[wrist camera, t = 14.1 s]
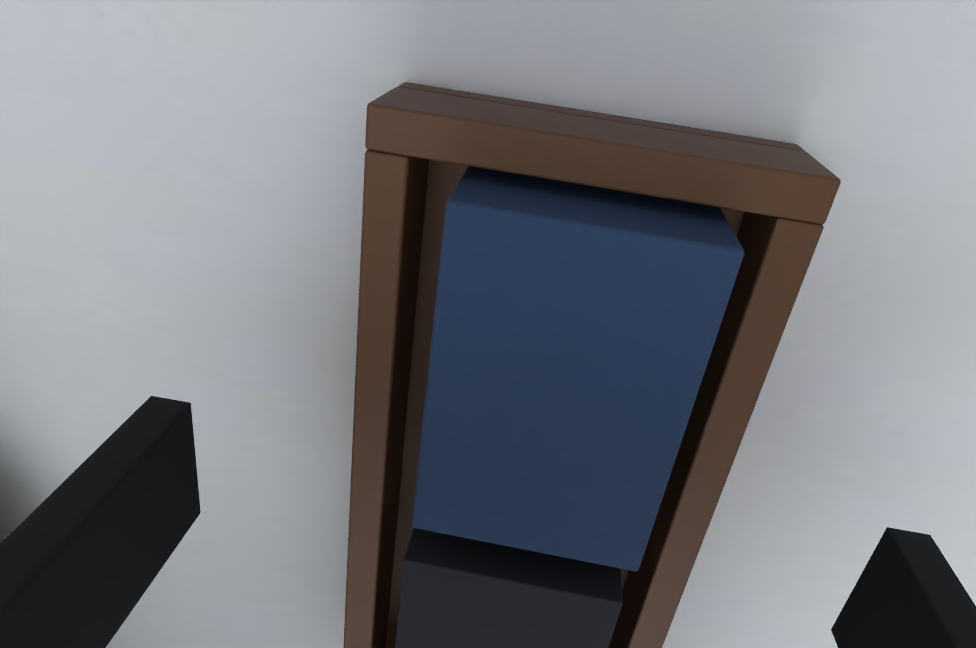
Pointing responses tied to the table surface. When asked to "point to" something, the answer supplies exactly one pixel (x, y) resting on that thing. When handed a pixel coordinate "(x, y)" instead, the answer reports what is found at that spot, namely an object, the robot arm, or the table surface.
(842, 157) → the table surface
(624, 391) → the pad
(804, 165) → the wooden tray
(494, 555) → the pad
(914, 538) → the robot arm
